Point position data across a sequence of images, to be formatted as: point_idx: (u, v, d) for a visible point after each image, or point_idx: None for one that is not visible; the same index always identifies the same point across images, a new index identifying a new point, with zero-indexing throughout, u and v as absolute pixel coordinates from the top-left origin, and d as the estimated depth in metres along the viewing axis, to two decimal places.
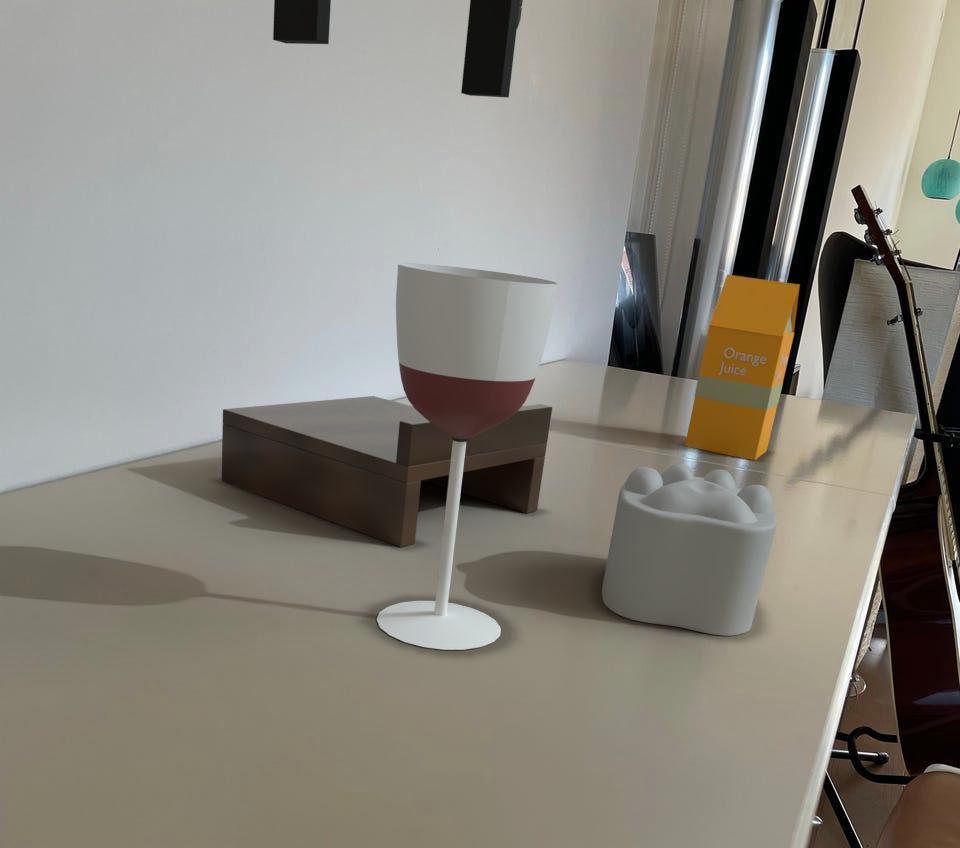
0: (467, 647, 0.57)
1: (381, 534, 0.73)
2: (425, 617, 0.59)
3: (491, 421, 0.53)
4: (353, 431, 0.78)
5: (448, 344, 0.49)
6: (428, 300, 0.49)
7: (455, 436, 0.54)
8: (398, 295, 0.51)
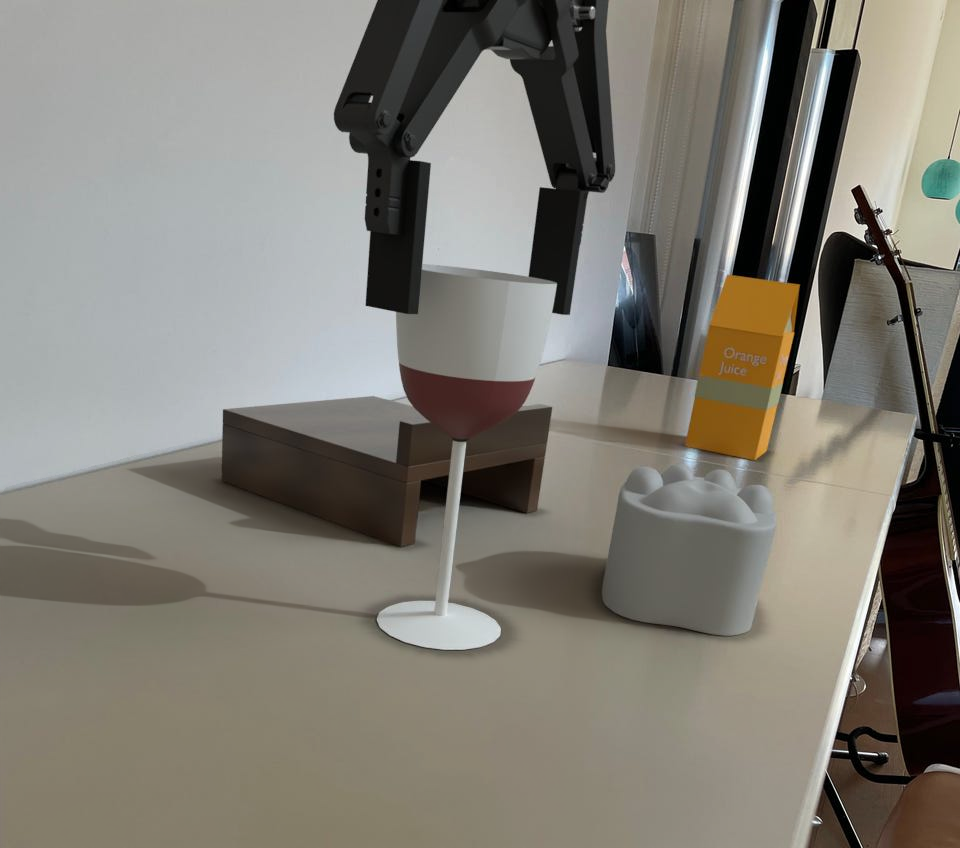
0: (467, 647, 0.57)
1: (381, 534, 0.73)
2: (425, 617, 0.59)
3: (491, 421, 0.53)
4: (353, 431, 0.78)
5: (448, 344, 0.49)
6: (428, 299, 0.49)
7: (455, 436, 0.54)
8: None
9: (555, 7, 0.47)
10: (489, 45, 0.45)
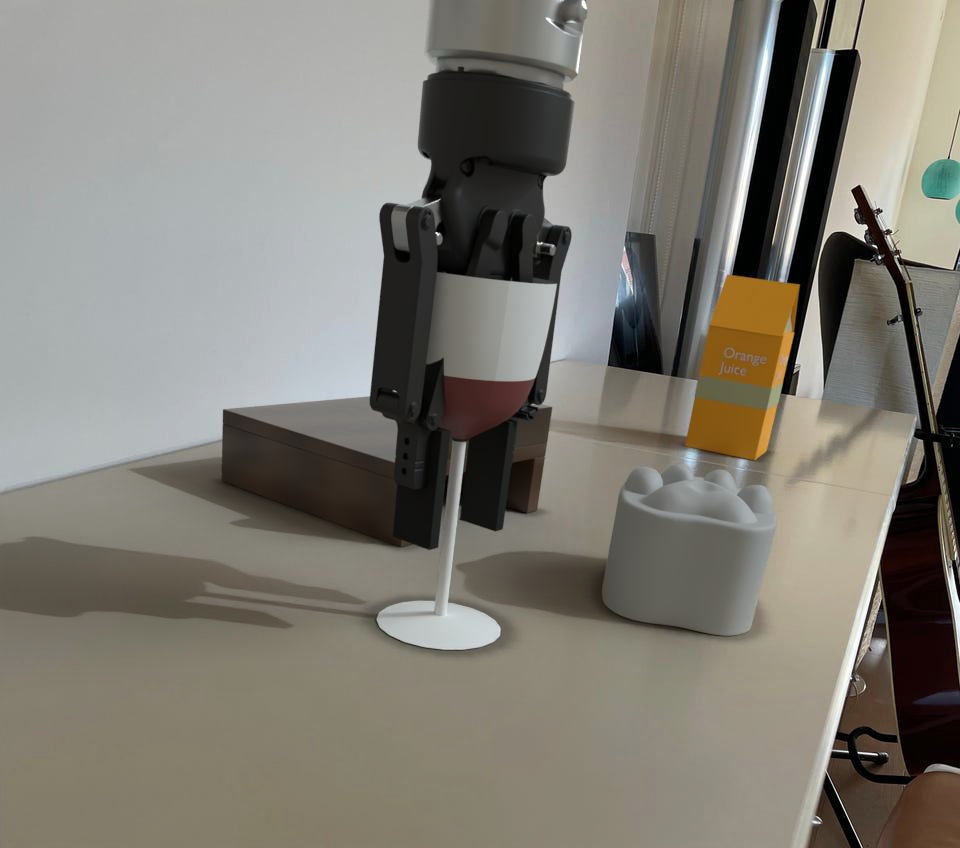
0: (466, 647, 0.57)
1: (381, 534, 0.73)
2: (424, 617, 0.59)
3: (491, 421, 0.53)
4: (353, 431, 0.78)
5: (448, 344, 0.49)
6: None
7: (455, 436, 0.54)
8: None
9: (521, 239, 0.51)
10: None
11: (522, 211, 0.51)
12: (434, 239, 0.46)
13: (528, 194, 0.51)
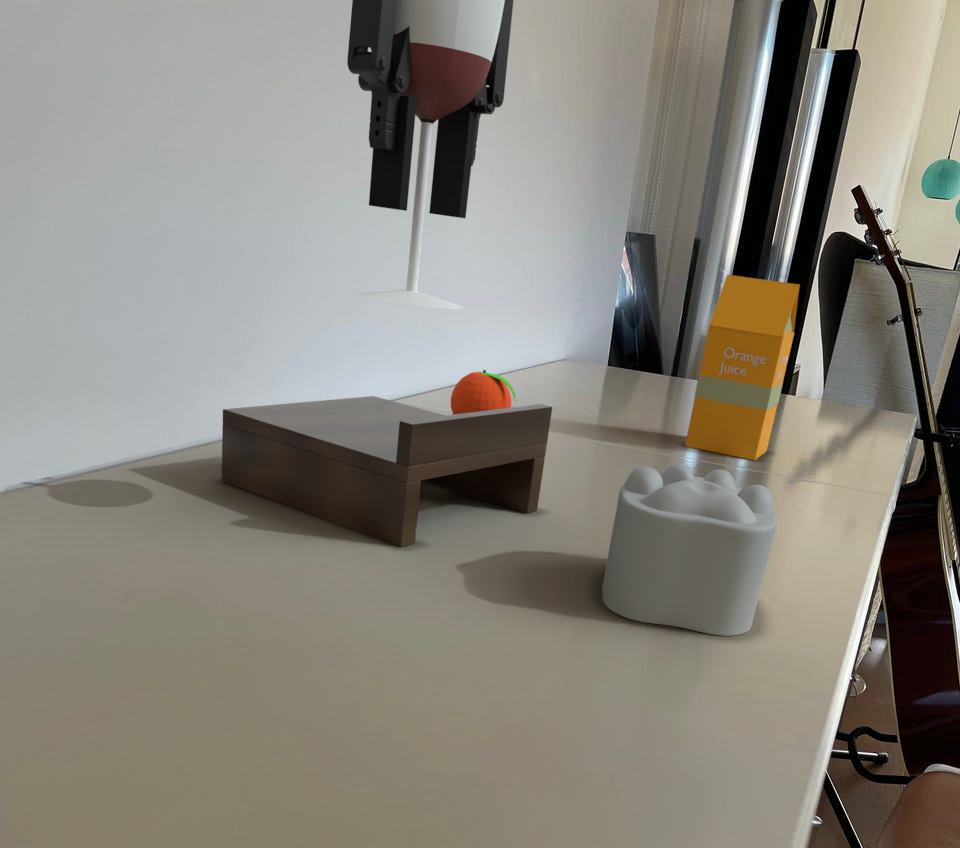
0: (432, 307, 0.66)
1: (381, 534, 0.73)
2: (398, 291, 0.68)
3: (452, 95, 0.62)
4: (353, 431, 0.78)
5: (413, 10, 0.59)
6: None
7: (422, 115, 0.64)
8: None
9: None
10: None
11: None
12: None
13: None
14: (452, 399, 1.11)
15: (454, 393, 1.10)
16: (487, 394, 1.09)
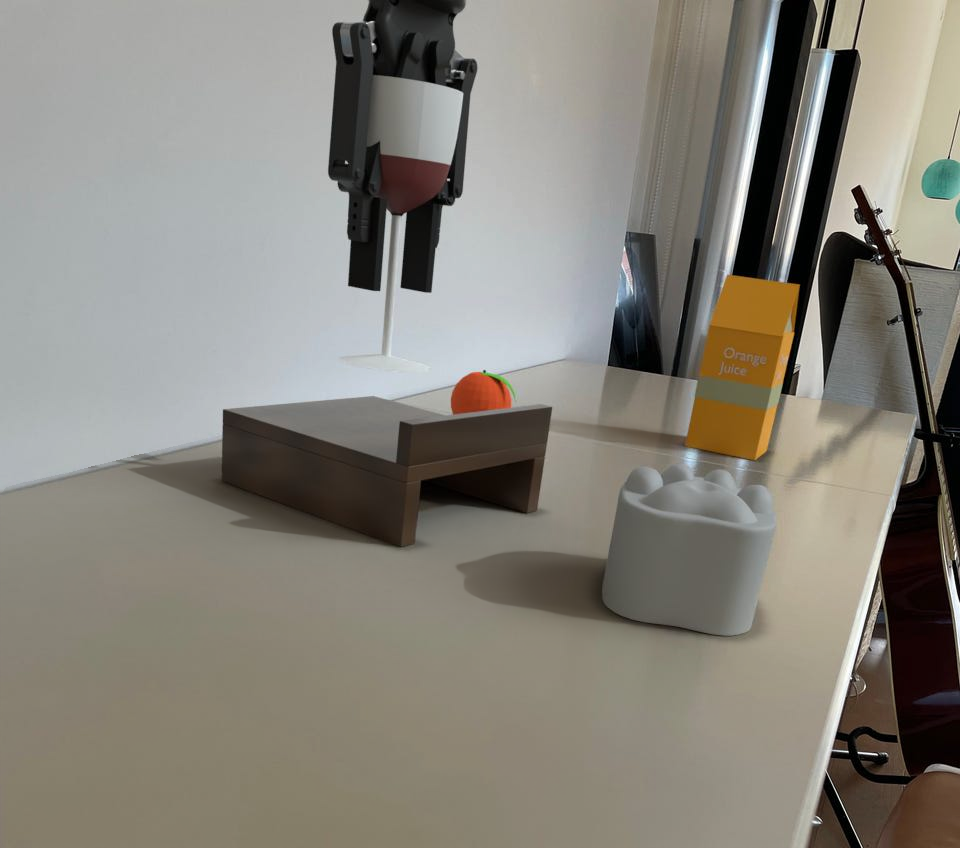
0: (403, 371, 0.77)
1: (381, 534, 0.73)
2: (374, 356, 0.80)
3: (417, 194, 0.74)
4: (353, 431, 0.78)
5: (383, 129, 0.70)
6: None
7: (392, 209, 0.75)
8: None
9: (435, 58, 0.71)
10: None
11: (436, 39, 0.72)
12: (370, 47, 0.67)
13: (441, 27, 0.72)
14: (452, 399, 1.11)
15: (454, 393, 1.10)
16: (487, 394, 1.09)
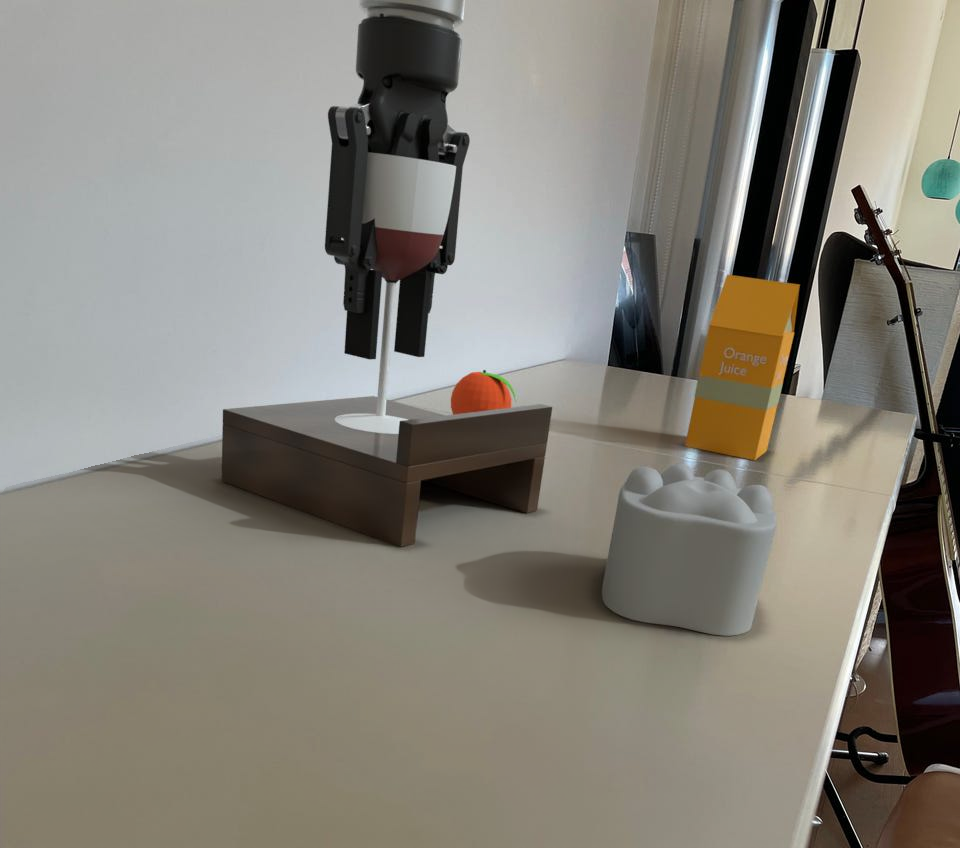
0: (397, 433, 0.79)
1: (381, 534, 0.73)
2: (369, 416, 0.81)
3: (411, 264, 0.76)
4: (353, 431, 0.78)
5: (377, 203, 0.72)
6: None
7: (387, 277, 0.77)
8: None
9: (428, 136, 0.73)
10: None
11: (429, 117, 0.74)
12: (364, 130, 0.69)
13: (434, 105, 0.74)
14: (452, 399, 1.11)
15: (454, 393, 1.10)
16: (487, 395, 1.09)
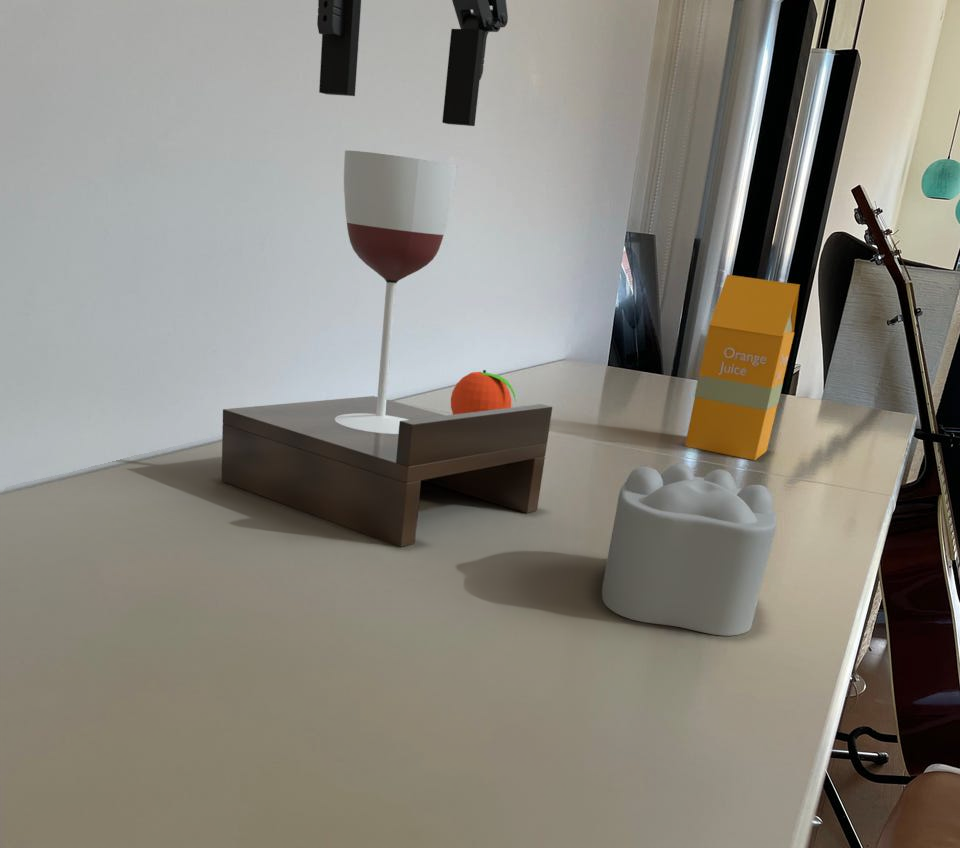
0: (397, 433, 0.79)
1: (381, 534, 0.73)
2: (369, 416, 0.81)
3: (411, 264, 0.76)
4: (353, 431, 0.78)
5: (378, 203, 0.72)
6: (364, 172, 0.72)
7: (387, 277, 0.77)
8: (344, 172, 0.73)
9: None
10: None
11: None
12: None
13: None
14: (452, 399, 1.11)
15: (454, 393, 1.10)
16: (487, 394, 1.09)
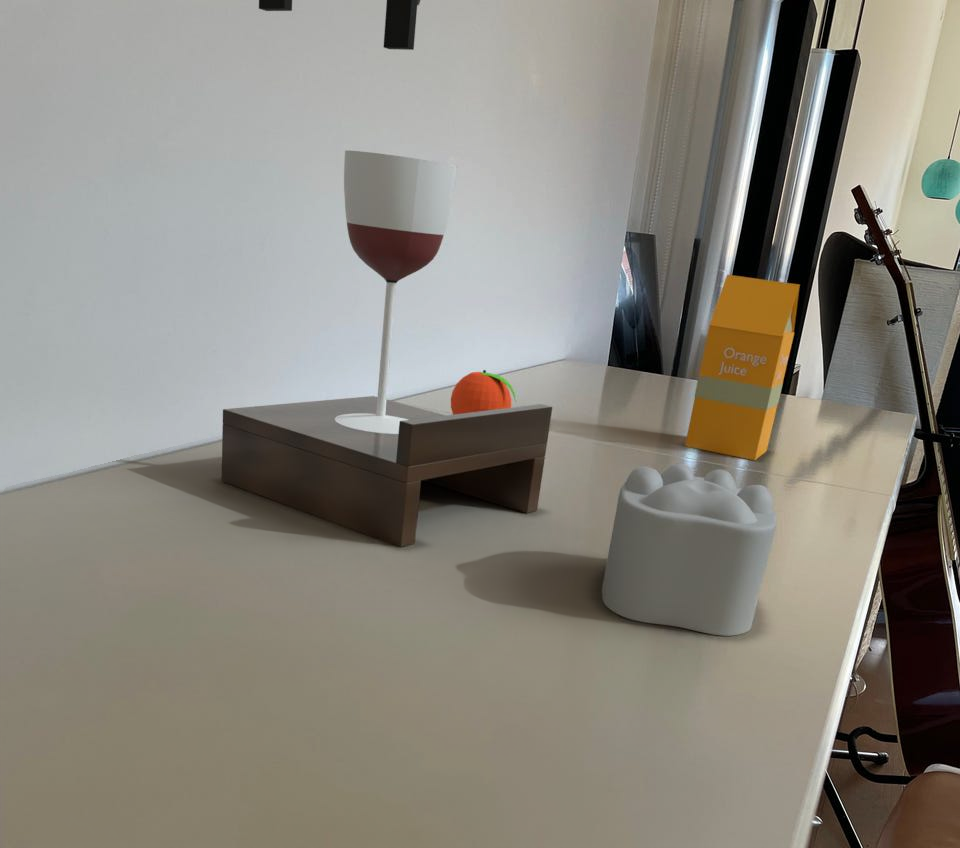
0: (397, 433, 0.79)
1: (381, 534, 0.73)
2: (369, 416, 0.81)
3: (411, 264, 0.76)
4: (353, 431, 0.78)
5: (378, 203, 0.72)
6: (364, 172, 0.72)
7: (387, 277, 0.77)
8: (344, 172, 0.73)
9: None
10: None
11: None
12: None
13: None
14: (452, 399, 1.11)
15: (454, 393, 1.10)
16: (487, 395, 1.09)
